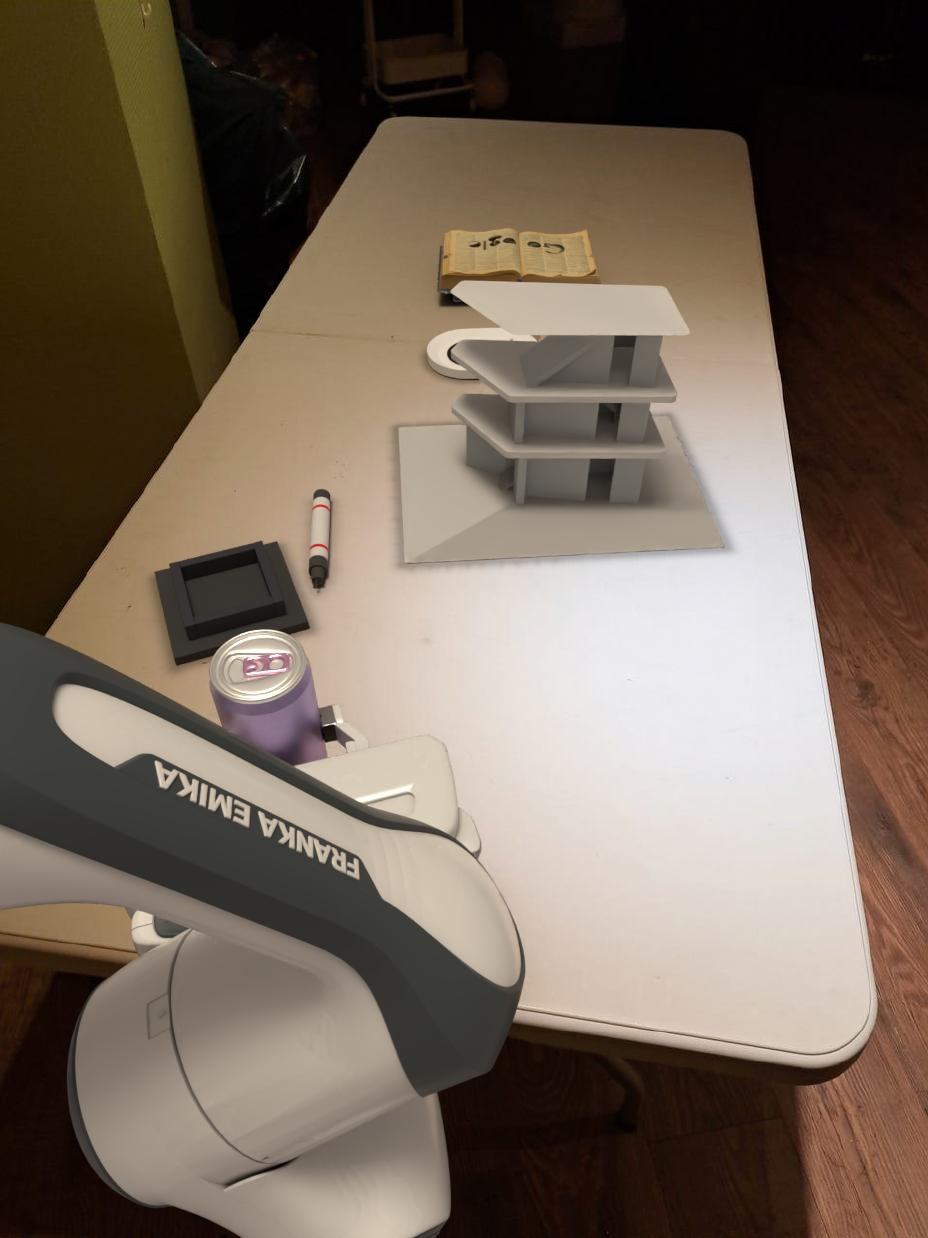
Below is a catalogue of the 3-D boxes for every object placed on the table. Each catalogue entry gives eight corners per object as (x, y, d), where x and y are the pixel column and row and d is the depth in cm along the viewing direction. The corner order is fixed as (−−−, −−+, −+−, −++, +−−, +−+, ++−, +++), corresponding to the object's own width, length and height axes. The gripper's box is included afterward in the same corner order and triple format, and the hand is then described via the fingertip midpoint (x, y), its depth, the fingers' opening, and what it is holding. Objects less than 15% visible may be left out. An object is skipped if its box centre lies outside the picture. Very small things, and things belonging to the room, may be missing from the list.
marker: (314, 502, 99) (312, 488, 97) (331, 502, 99) (329, 488, 97) (308, 595, 88) (305, 581, 87) (327, 594, 88) (325, 580, 87)
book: (588, 262, 143) (592, 226, 139) (599, 309, 132) (603, 270, 128) (439, 262, 143) (438, 226, 139) (437, 309, 132) (436, 270, 128)
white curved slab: (575, 356, 116) (427, 361, 115) (573, 377, 118) (428, 382, 118) (564, 315, 124) (425, 319, 123) (562, 335, 126) (426, 340, 126)
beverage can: (337, 833, 59) (310, 696, 48) (249, 845, 58) (203, 709, 48) (332, 762, 63) (307, 621, 52) (250, 772, 63) (207, 632, 52)
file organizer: (725, 547, 94) (778, 366, 78) (404, 563, 92) (393, 381, 76) (667, 415, 111) (701, 247, 96) (398, 427, 109) (388, 257, 94)
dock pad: (176, 665, 82) (168, 644, 79) (156, 578, 90) (149, 557, 88) (309, 628, 85) (305, 606, 83) (278, 547, 93) (274, 526, 91)
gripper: (493, 841, 46) (426, 658, 56) (98, 949, 42) (96, 731, 51) (489, 895, 51) (428, 717, 60) (133, 997, 47) (125, 789, 56)
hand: (272, 724), depth 56 cm, fingers closed on beverage can, 6 cm apart
